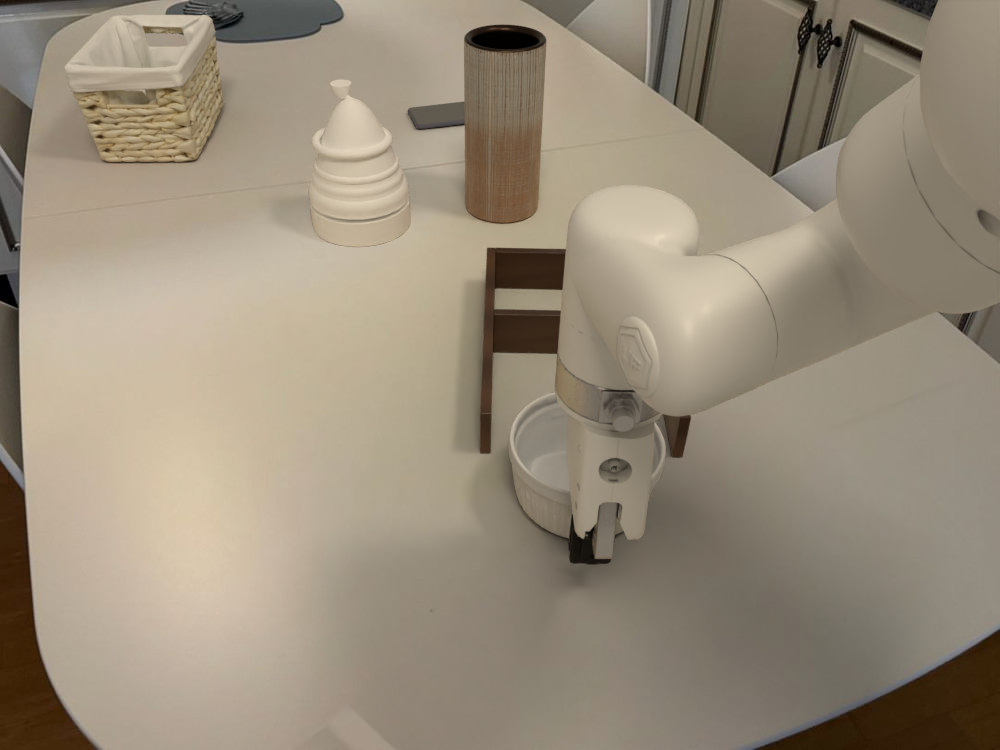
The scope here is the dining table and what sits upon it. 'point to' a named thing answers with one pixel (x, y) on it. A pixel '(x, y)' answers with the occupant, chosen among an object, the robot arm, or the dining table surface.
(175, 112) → the basket
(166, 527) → the dining table surface
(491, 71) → the planter
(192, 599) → the dining table surface
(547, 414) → the ramekin
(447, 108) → the smartphone
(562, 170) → the dining table surface
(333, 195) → the honey pot
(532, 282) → the frame
